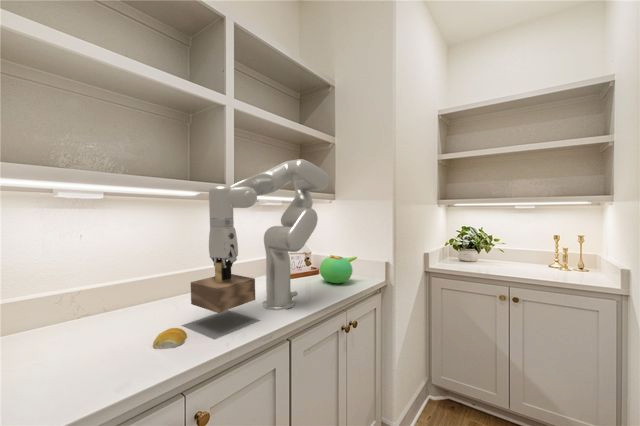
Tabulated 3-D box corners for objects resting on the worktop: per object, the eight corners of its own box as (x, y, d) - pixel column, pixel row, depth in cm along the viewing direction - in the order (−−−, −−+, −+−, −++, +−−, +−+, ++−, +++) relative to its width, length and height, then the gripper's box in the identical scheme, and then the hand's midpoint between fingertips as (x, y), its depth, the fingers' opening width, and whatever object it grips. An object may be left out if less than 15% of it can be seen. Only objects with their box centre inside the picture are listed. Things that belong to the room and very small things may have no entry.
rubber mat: (227, 311, 110) (227, 310, 110) (260, 321, 100) (260, 320, 100) (181, 326, 95) (181, 325, 95) (214, 341, 85) (214, 339, 85)
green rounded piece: (313, 281, 156) (313, 254, 156) (337, 277, 166) (337, 251, 166) (335, 288, 142) (335, 258, 141) (360, 283, 152) (360, 255, 152)
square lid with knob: (228, 292, 108) (227, 257, 108) (255, 299, 100) (254, 260, 99) (191, 304, 96) (190, 263, 96) (218, 313, 88) (217, 269, 87)
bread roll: (188, 336, 89) (188, 323, 89) (182, 349, 80) (182, 335, 80) (159, 338, 87) (158, 325, 87) (148, 353, 78) (148, 338, 78)
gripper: (247, 223, 96) (248, 279, 96) (216, 222, 105) (218, 273, 106) (227, 225, 89) (229, 284, 90) (197, 223, 99) (198, 277, 100)
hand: (223, 278), depth 98 cm, fingers closed on square lid with knob, 3 cm apart
